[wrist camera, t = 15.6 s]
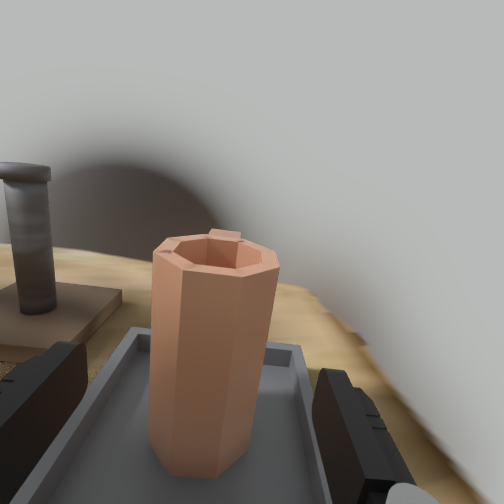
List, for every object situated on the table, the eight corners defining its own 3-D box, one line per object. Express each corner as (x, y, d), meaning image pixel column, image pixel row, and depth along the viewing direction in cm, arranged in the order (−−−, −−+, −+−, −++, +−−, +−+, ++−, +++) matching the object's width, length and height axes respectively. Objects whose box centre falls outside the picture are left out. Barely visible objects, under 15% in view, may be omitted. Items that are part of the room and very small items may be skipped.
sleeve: (247, 481, 14) (284, 282, 11) (136, 473, 14) (139, 264, 11) (247, 379, 21) (270, 236, 18) (172, 372, 21) (181, 224, 17)
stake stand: (62, 367, 21) (46, 178, 17) (-81, 352, 20) (-134, 153, 16) (122, 302, 30) (121, 171, 26) (25, 291, 30) (9, 156, 26)
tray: (349, 619, 11) (365, 582, 10) (-20, 595, 10) (-31, 553, 9) (295, 369, 24) (300, 345, 23) (131, 351, 23) (131, 326, 22)
